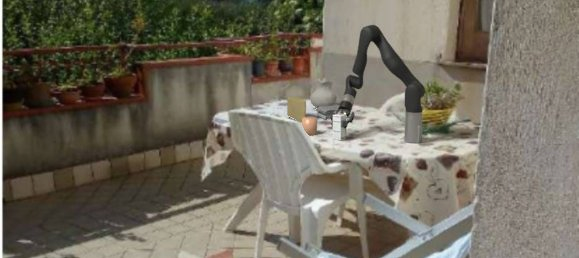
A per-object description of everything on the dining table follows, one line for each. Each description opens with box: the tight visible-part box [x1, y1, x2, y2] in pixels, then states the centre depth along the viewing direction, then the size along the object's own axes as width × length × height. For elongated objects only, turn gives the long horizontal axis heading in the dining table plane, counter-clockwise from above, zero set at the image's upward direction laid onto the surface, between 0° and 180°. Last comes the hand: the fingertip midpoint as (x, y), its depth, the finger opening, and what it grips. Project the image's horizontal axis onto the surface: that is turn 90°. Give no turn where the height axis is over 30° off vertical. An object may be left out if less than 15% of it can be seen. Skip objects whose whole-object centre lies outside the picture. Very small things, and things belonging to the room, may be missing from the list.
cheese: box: [286, 96, 307, 123], centre depth 387 cm, size 22×10×15 cm, turn 19°
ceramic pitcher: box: [309, 75, 337, 109], centre depth 429 cm, size 22×20×25 cm
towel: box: [315, 104, 339, 120], centre depth 398 cm, size 15×18×8 cm
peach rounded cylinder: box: [301, 116, 318, 137], centre depth 344 cm, size 9×9×10 cm
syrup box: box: [332, 114, 347, 141], centre depth 331 cm, size 6×6×14 cm
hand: (338, 126), depth 330 cm, fingers closed on syrup box, 7 cm apart
